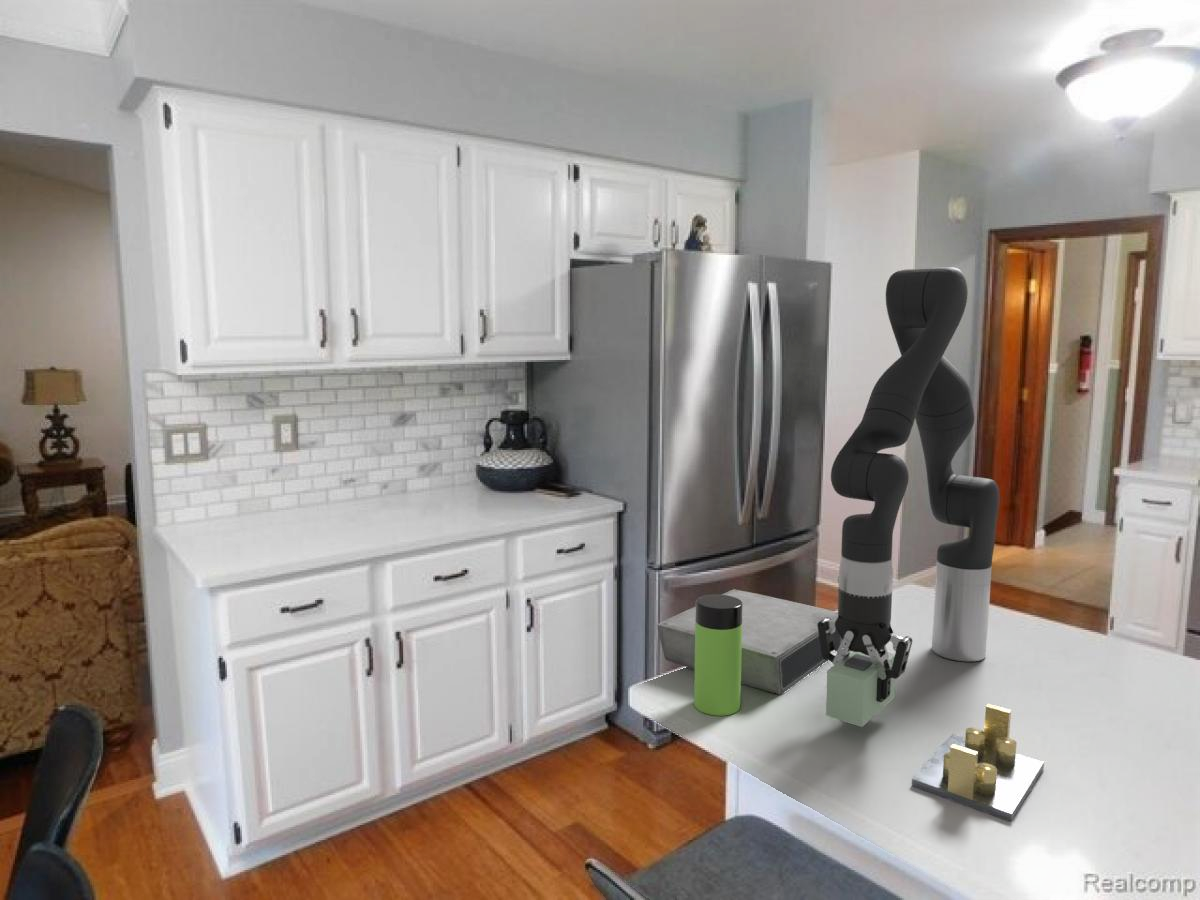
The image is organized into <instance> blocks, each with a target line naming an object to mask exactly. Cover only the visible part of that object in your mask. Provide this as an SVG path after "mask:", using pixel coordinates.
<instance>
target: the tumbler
mask: <svg viewBox="0 0 1200 900" xmlns="http://www.w3.org/2000/svg"><path fill="white" fill-rule="evenodd" d="M695 607H696V616H695V669H694V683H693V684H694V685H693V688H694V689H693V690H694V691H693V693H694V694H693V695H694V696H693V698H694V699H693V705H694V707H695V708H696V709H697V710H698V711H699V712H701V713H704V714H707V715H711V716H717V717H720V716H721V717H724V716H730V715H733V714H736V713H737V712H738V711H739V710H741V709H740V708H741V691H742V688H741V686H742V685H741V651H742V609H743V603H742V601H741V600H739V599H738V598H735V597H732V596H728V595H722V594H718V593H717V594H707V595H706V594H705V595H702V596H699V597H697V599H696V600H695Z"/></svg>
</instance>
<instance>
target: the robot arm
mask: <svg viewBox="0 0 1200 900" xmlns="http://www.w3.org/2000/svg"><path fill="white" fill-rule="evenodd" d="M966 279H967V278H966V276H965V275H964V273H963V272H962V270H960V269H959V268H957V267H950V266H947V267H946V266H944V267H943V266H941V267H922V268H921V267H919V268H909V269H907V268H906V269H901V270H898V271H897V270H896V271H895V272H894V273H892V274H891V275H890V277H889V279H888V280H887V283H886V288H885V305H886V311H887V316H888V319H889V322H890V326H891V329H892V333H893V335H894V338H895V342H896V344H897V347H898V350H899V352H900V357H899V358H898V359H896V360H895V361H894V362H893V363H892V364H891V365H890V366H889V367H888V368H887V369H886V370H885V371H884V372H883V373H882V374H881V376H880V377H879V378H878V380H877V381H876V383H875V384H874V386H873V389H872V390H871V393H870V395H869V396H870V397H869V399H868V402H867V404H866V407H865V411H864V413H863V415H862V419H861V421H860V423H859V424H858V426H857V427H856V428H855V429H854V430H853V433H852V434H851V435H850V437H848V439H847V441H846V442H845V443H844V445H843V446H842V448H841V449H840V450H839V452H838V454H837V455H836V457H835V459H834V461H833V464H832V467H831V470H830V480H831V485H832V488H833V490H834V491H835V492H836V493H837V494H838V495H839V496H841V497H844V498H846V499H847V498H849V499H854V500H862V501H868V502H873V503H874V504H873V505H874V506H873V508H872V511H871V512H870V513H859V514H858V513H857V514H852V515H848V516H847V517H845V519H844V520H843V523H842V527H841V528H842V529H841V550H840V551H841V555H840V563H839V569H838V577H837V581H838V595H837V596H838V597H837V598H838V599H837V612H838V618H837V620H831V619H830V618H828V617H826V618H825V619H823V620H821V621H820V622H818V624H817V626H818V632H819V639H820V646H821V652H822V657H823V659H825V660H829V661H828V662H831V663H832V664H833V666H834V665H835V664H837V663H838V662H840V661H841V660H844V658H845V657H846V656H849V655H850V654H851V653H852V652H861V653H863V654H865V655H868V656H870V659H871V662H872V664H873V665H874V666H875V668H876V669H877V674H878V676H879V677H878V678H877V697H876V700H877V701H878V702H881V703H882V702H883V701H884V700H885V699H886V698H888V697H889V695H890V690H891V678H894V679H895V680H896V679H899V677H900V676H902V675H903V674H904V673H905V671H906V669H907V664H908V661H909V656H910V653H911V648H912V645H913V638H912V637H911V636H909V635H907V636H905V637H903V636H901V635H898V634H896V633H894V630H893V629H892V625H891V620H892V605H893V604H892V601H893V582H894V581H893V578H894V575H893V573H894V572H893V571H894V570H893V561H892V559H893V534H894V529H895V526H896V521H897V517H898V513H899V511H900V507H901V505H902V501H903V499H904V496H905V494H906V492H907V488H908V484H909V480H910V479H909V478H910V477H909V471H908V470H909V469H908V467H907V465H906V462H905V461H904V460H903V459H902V457H900V456H898V455H896V454H893V453H891V454H890V453H883V452H880V451H882V450H886V449H893V448H897V447H901V446H903V445H904V444H905V443H906V442H907V441H908V439H909V438H910V434H911V432H912V429H913V426H914V422H916V427H917V429H918V434H919V438H920V442H921V447H922V452H923V457H924V463H925V470H926V480H927V489H928V497H929V505H930V509H931V513H932V515H933V517H934V518H935V519H936V520H937V521H938V522H939V523H942V524H946V525H951V526H958V527H964V528H968V529H969V528H970V534H969V536H968V537H965V538H963V539H959V540H952V541H947V542H944V543H941V544H940V545H939V546H937V547H938V548H937V551H936V553H937V554H936V568H935V569H936V571H935V585H934V586H935V588H934V603H933V605H934V606H933V619H932V620H933V622H932V623H933V624H932V634H931V635H932V637H931V638H932V639H931V651H933V653H935V654H936V655H938V656H940V657H942V658H945V659H949V660H953V661H958V662H978V661H982V660H984V659H985V658H986V656H987V655H986V654H987V640H988V629H989V628H988V627H989V614H990V613H989V612H990V599H991V598H990V597H991V583H992V582H991V581H992V580H991V579H992V567H993V566H992V565H993V556H994V551H995V550H994V549H995V542H996V541H995V540H996V531H997V524H998V523H997V522H998V516H999V508H1000V490H999V489H1000V488H999V486H998V483H997V482H996V481H995V480H993V479H991V478H986V477H985V478H984V477H978V476H977V477H976V476H971V475H970V476H969V475H963V474H962V475H959V474H956V473H954V471H953V468H952V461H953V459H954V457H955V455H956V454H957V452H958V450H959V449H960V448H961V446H962V445H963V444H964V442H965V441H966V439H967V438H968V436H969V435H970V434H971V431H972V430H973V427H974V423H975V410H974V406H973V404H974V403H973V399H972V398H973V397H972V394H971V390H970V385H969V383H968V382H967V380H966V378H965V377H964V376H963V375H962V374H961V372H960V371H959V370H958V369H957V368H956V367H955V366H954V365H953V364H952V362H950V360H948V359H947V358H946V357H945V356H944V354H945V352H946V350H947V348H948V346H949V345H950V342H951V341H952V338H953V336H954V334H956V330H957V329H958V327H959V325H960V323H961V321H962V318H963V315H964V314H965V311H966V305H967V302H968V283H967V280H966ZM835 628H836V629H837V631H838V633H839V634H840V636H841V638H842V640H843V641H842V643H841V644H840V646H839V648H838V650H837V651H836V647H835V640H834V632H835ZM889 642H891V644H892V649H893V651H895V653H894V654H895V657H894V661H893V665H892V667H891V665H890V662H889V659H888V658H889V654H888V649H887V647H886V645H888V643H889Z"/></svg>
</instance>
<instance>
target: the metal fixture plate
mask: <svg viewBox="0 0 1200 900" xmlns="http://www.w3.org/2000/svg"><path fill="white" fill-rule="evenodd" d="M1011 716H1012V709H1008V708H1005V707H1000V706H998V705H993V704H990V703H987V705H985V717H984V728H983V729H984V730H982V729H980V728H977V727H968V728H966V729H965V737H964V736H961V735H958V734H954V733H952V734H951V735H950V736H949V737H948V738H947V739H946V740H945V741H944V743H942V745H941V746H940V747H939V748H938V749H937V750H936V752H935V753H933V755H931V757H930V758H929V759H927V762H925V764H924V765H923V766H921V768H920V769H919V770H918V771H917V772H916V774H915V775H914V776H913V777H912V778H911V787H914V788H917V789H919V790H922V791H925V792H928V793H930V794H933V795H935V796H939V797H941V798H945V799H947V800H949V801H954V802H955V803H958V804H962V805H963V806H967V807H969V808H971V809H972V808H973V809H975V810H979V811H981V812H984V813H985V814H989V815H991V816H995V817H998V818H1001V819H1003V820H1006V821H1009V822H1012V821H1013V819H1014V818H1015V816H1016V815H1017V813H1018V811H1019V810H1020V808H1021V806H1022V805H1023V803H1024V801H1025V800H1026V799H1027V797H1028V795H1029V793H1030V792H1031V790H1032V788H1033V787H1034V785H1035V783H1036V782H1037V780H1039V779H1038V778H1039V777H1040V776H1041V773H1042V772H1043V771H1044V766H1045V761H1042V760H1038V759H1035V758H1032V757H1029V756H1026V755H1023V754H1020V753H1016V752H1017V741H1016V740H1014V739H1013V738H1011V737H1010V732H1011V718H1012V717H1011Z"/></svg>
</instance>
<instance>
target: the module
mask: <svg viewBox="0 0 1200 900" xmlns="http://www.w3.org/2000/svg"><path fill="white" fill-rule="evenodd" d="M887 652H888V651H887ZM888 654H889V658H888V659H889V662H890V665H891V667H892V665H893V661H894V657H895V653H893V652H888ZM826 671H827V672H826V703H825V716H827V717H829V718H832V719H833V718H834V719H836V720H839V721H843V722H845V723H849V724H851V725H854V726H857V727H861V728H862V727H864V726H865V725H866V724H867V723H868V722H869V721H870V720H871V719H873V718H874V717H875V716H876V715H877V714H878V713H879V712H880V711H881V710H883V709H884V707H886V706H887V705H888V704H889V703H890V702H891V701H892V700H893V699H895V697H896V696H895V693H896V691H895V690H896V679H894V678H891V690H890V695H889V697H888V698H886V699H885V700H884V701H883V702H882V703H881V702H878V701H877V700H876V697H877V678H878V677H879V676H878V674H877V669H876V668H875V666H874V665H873V664H872V662H871V659H870V656H868V655H865V654H863V653H861V652H853V651H852V652H851V653H850V655H849V656H846V657H845V658H844V660H841V661H840V662H838V663H837V664H835V665H834V664H833V666H832V667H830V668H828V669H827V670H826Z"/></svg>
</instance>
